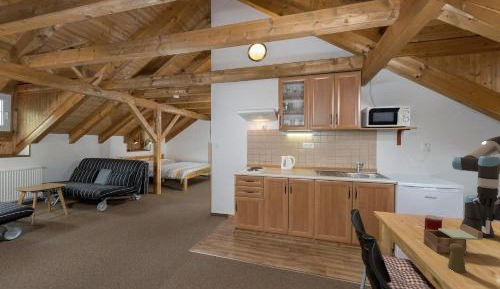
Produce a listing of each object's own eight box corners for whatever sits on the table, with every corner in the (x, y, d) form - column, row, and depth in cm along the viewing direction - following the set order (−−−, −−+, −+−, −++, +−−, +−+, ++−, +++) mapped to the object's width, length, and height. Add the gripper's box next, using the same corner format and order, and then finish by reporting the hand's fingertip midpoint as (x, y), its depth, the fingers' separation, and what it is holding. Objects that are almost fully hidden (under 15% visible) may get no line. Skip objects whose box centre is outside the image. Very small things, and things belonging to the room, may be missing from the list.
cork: (446, 269, 102) (447, 244, 102) (448, 264, 107) (449, 240, 106) (465, 275, 98) (466, 249, 98) (466, 269, 102) (467, 244, 102)
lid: (464, 231, 125) (465, 224, 125) (482, 240, 114) (482, 232, 114) (438, 229, 126) (438, 222, 126) (453, 238, 115) (453, 230, 115)
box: (449, 245, 126) (450, 231, 126) (465, 255, 115) (466, 239, 115) (423, 243, 127) (424, 229, 127) (437, 253, 117) (437, 238, 116)
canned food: (444, 238, 134) (445, 219, 133) (428, 237, 135) (429, 218, 135) (436, 233, 141) (437, 215, 141) (421, 232, 143) (422, 214, 143)
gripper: (495, 185, 121) (493, 230, 121) (467, 184, 122) (465, 229, 123) (509, 188, 113) (507, 236, 114) (479, 187, 115) (477, 234, 115)
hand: (485, 232), depth 118 cm, fingers closed
